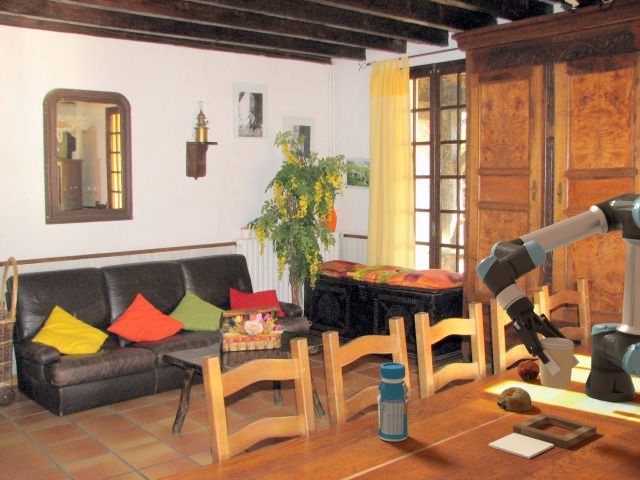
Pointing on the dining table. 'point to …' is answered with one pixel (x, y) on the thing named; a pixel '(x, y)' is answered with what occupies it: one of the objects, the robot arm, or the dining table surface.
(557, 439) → the square frame
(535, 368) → the pomegranate
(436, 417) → the dining table surface
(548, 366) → the robot arm
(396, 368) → the beverage bottle
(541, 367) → the coffee cup
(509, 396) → the bread roll
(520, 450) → the white tile
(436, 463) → the dining table surface
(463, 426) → the dining table surface
